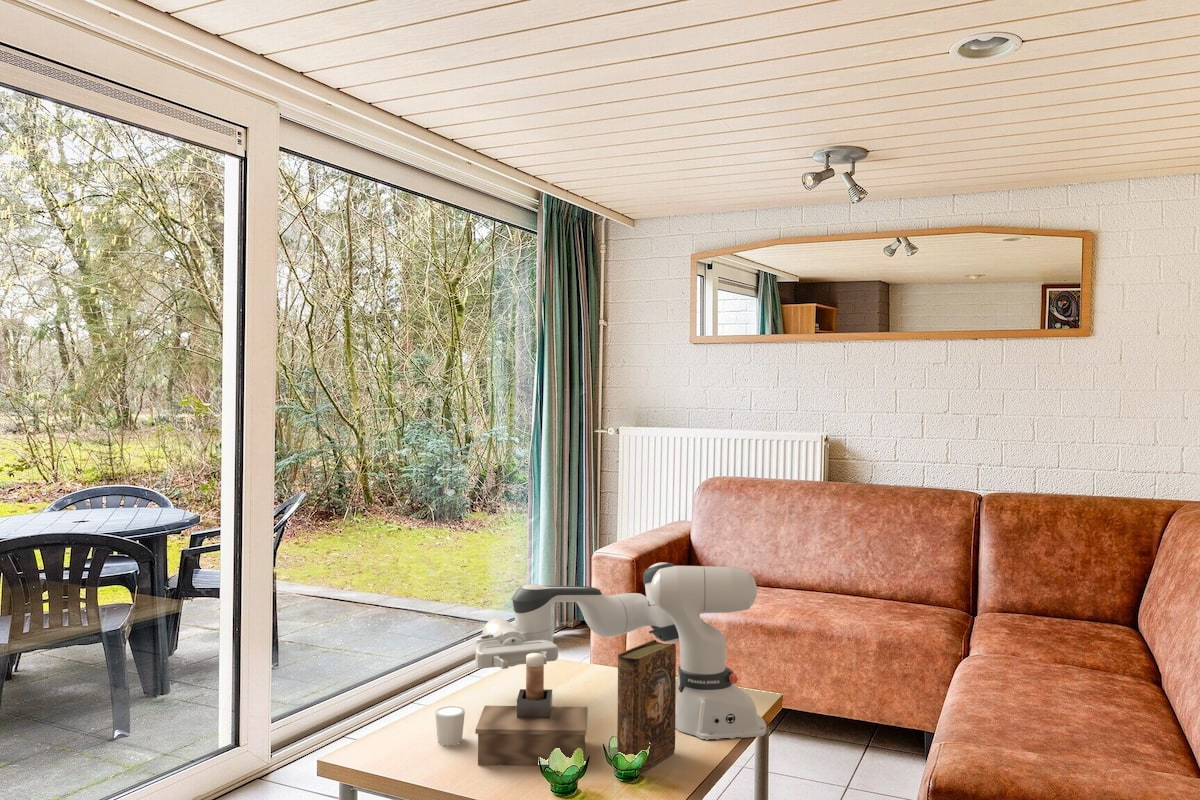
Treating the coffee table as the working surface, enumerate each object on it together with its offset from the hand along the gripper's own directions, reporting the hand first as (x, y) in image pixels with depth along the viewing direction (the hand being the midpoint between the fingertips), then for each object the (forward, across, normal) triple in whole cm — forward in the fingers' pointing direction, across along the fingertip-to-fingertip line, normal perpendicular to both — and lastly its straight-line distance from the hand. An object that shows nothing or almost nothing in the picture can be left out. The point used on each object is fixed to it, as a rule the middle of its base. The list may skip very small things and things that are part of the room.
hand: (524, 663), depth 205 cm
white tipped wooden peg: (+7, 0, -9) cm, 12 cm away
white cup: (-3, +17, -18) cm, 25 cm away
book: (+23, -21, -17) cm, 36 cm away
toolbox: (+10, +1, -17) cm, 20 cm away
